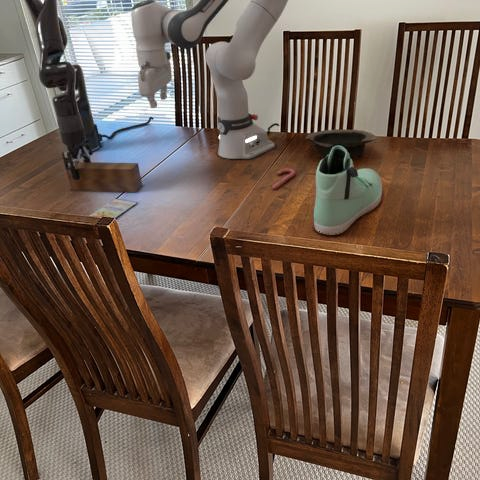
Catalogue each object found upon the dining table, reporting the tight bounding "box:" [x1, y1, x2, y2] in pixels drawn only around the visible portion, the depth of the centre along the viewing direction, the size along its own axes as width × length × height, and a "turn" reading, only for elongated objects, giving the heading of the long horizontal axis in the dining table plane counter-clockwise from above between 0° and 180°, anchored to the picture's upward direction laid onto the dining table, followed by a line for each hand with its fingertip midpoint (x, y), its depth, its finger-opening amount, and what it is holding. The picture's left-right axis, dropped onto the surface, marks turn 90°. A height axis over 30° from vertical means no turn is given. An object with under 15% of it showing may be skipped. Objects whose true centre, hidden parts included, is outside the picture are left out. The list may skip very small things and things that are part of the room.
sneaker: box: [313, 146, 383, 236], centre depth 133 cm, size 14×35×20 cm, turn 152°
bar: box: [65, 161, 143, 193], centre depth 161 cm, size 24×5×8 cm, turn 78°
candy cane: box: [272, 167, 296, 190], centre depth 158 cm, size 6×15×2 cm, turn 145°
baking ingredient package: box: [88, 198, 137, 219], centre depth 147 cm, size 9×1×15 cm
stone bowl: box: [304, 128, 378, 159], centre depth 171 cm, size 25×25×9 cm
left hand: (83, 174), depth 162 cm, fingers open, 8 cm apart
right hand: (159, 103), depth 157 cm, fingers open, 8 cm apart
